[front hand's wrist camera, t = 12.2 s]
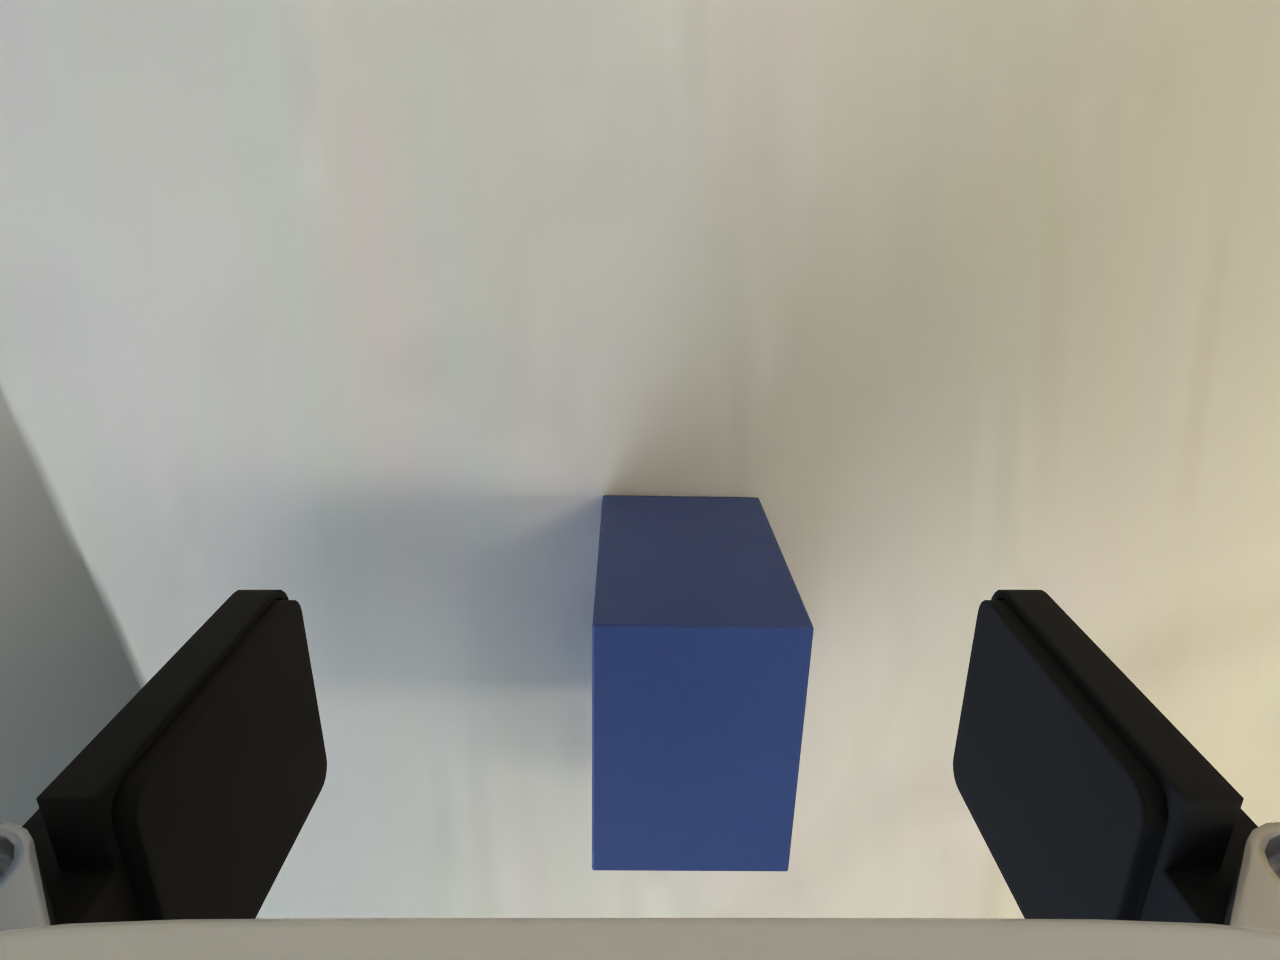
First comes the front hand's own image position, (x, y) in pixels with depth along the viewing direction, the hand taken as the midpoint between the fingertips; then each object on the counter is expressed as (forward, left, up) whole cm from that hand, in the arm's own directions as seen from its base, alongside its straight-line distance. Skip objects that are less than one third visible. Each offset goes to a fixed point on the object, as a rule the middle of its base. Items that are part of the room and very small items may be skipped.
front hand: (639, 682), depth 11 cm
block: (-3, +9, -21) cm, 23 cm away
